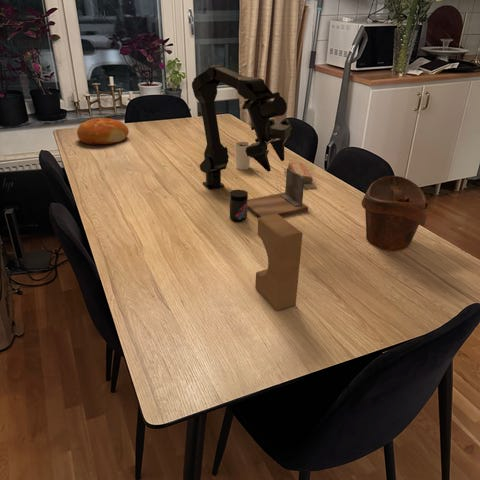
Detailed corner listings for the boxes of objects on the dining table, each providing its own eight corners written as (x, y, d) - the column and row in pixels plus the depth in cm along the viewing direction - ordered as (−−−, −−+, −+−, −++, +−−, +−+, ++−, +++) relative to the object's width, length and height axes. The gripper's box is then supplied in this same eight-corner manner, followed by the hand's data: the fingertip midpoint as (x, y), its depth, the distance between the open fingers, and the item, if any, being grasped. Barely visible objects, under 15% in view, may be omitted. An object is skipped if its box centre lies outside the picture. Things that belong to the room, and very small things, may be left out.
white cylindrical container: (231, 168, 190) (232, 145, 185) (238, 163, 195) (238, 140, 190) (246, 171, 187) (247, 147, 183) (252, 165, 193) (253, 142, 188)
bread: (122, 148, 211) (120, 126, 206) (72, 147, 211) (68, 125, 206) (133, 134, 231) (131, 114, 226) (87, 133, 231) (84, 113, 226)
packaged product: (283, 160, 186) (307, 160, 187) (282, 172, 188) (306, 172, 189) (290, 177, 170) (317, 177, 171) (290, 189, 173) (316, 189, 173)
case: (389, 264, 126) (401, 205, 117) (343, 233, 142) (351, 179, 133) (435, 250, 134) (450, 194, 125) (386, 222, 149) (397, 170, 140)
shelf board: (242, 204, 159) (242, 173, 153) (286, 195, 166) (288, 165, 160) (261, 221, 148) (263, 188, 142) (307, 211, 155) (311, 179, 150)
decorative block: (254, 287, 116) (257, 216, 106) (273, 282, 118) (278, 212, 108) (276, 312, 107) (281, 237, 97) (296, 306, 109) (303, 232, 100)
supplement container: (231, 223, 146) (231, 197, 142) (227, 215, 151) (227, 190, 147) (249, 221, 148) (250, 196, 143) (244, 213, 153) (245, 188, 148)
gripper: (266, 123, 132) (283, 173, 138) (295, 105, 145) (310, 151, 150) (237, 131, 139) (254, 178, 145) (267, 113, 152) (282, 157, 157)
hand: (276, 165), depth 149 cm, fingers open, 9 cm apart
